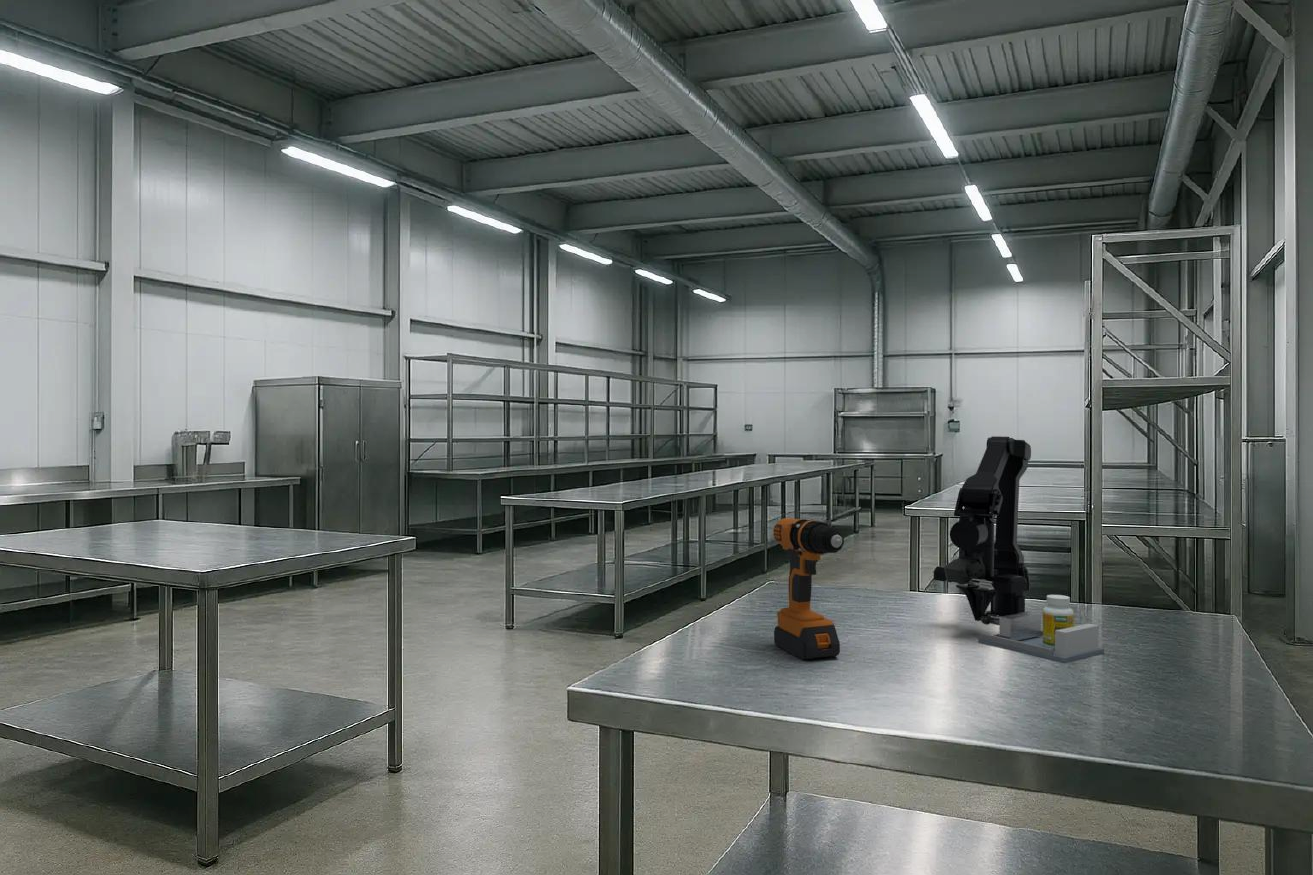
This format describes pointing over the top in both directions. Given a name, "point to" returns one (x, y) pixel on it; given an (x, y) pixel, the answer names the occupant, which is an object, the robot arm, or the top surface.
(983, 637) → the vise base
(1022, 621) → the sliding jaw
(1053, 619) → the supplement bottle
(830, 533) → the power drill
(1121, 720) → the top surface
